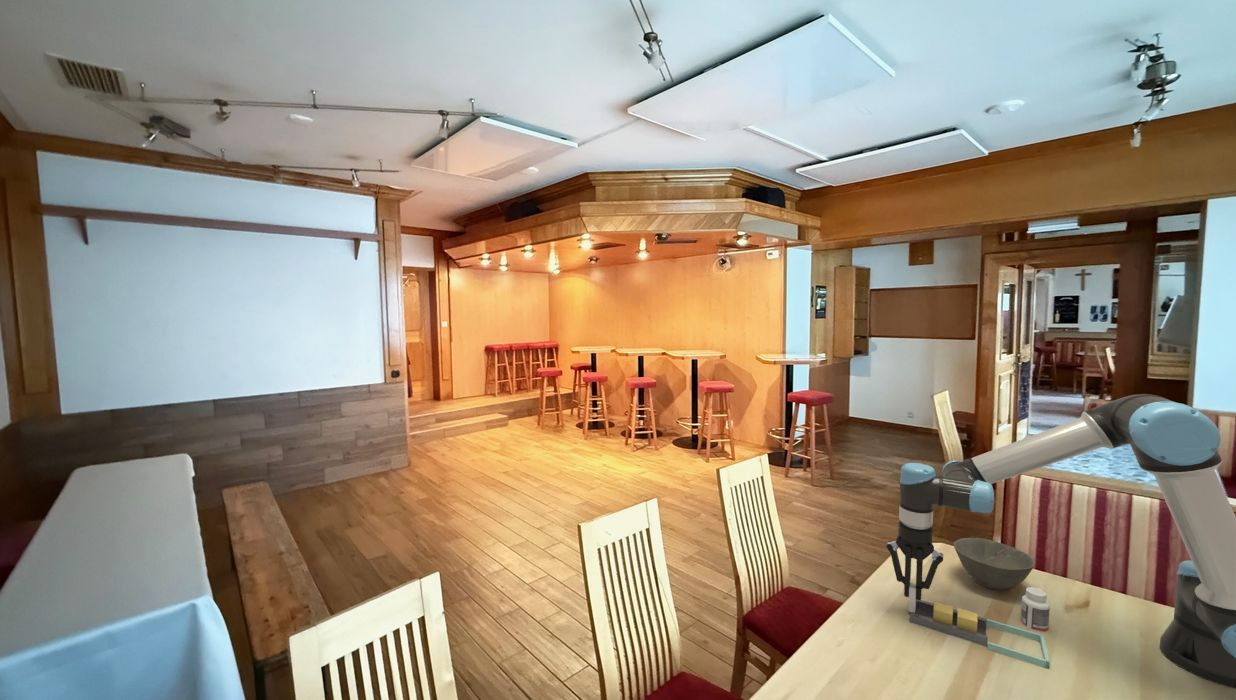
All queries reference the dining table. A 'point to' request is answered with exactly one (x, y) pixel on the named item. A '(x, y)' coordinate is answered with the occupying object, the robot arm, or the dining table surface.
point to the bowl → (993, 562)
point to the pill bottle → (1035, 609)
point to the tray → (1018, 654)
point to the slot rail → (925, 619)
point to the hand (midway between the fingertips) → (912, 609)
